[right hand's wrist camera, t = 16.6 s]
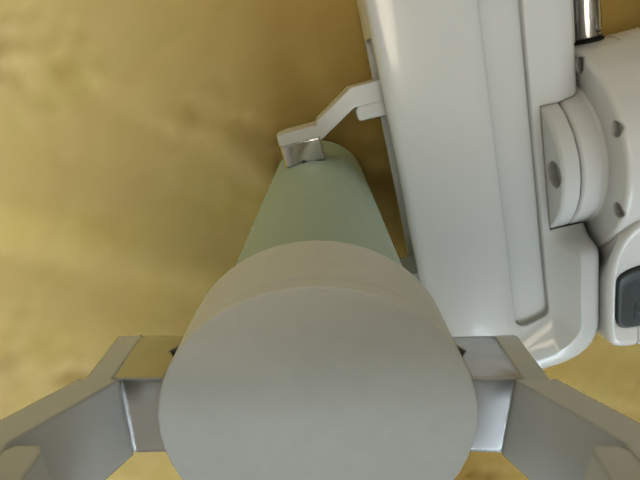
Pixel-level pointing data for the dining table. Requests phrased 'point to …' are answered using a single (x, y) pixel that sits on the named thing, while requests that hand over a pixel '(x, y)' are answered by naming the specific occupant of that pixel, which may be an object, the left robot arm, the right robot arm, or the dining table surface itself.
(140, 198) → the dining table surface
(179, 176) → the dining table surface
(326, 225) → the green tall cylinder
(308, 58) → the dining table surface
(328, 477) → the lid
